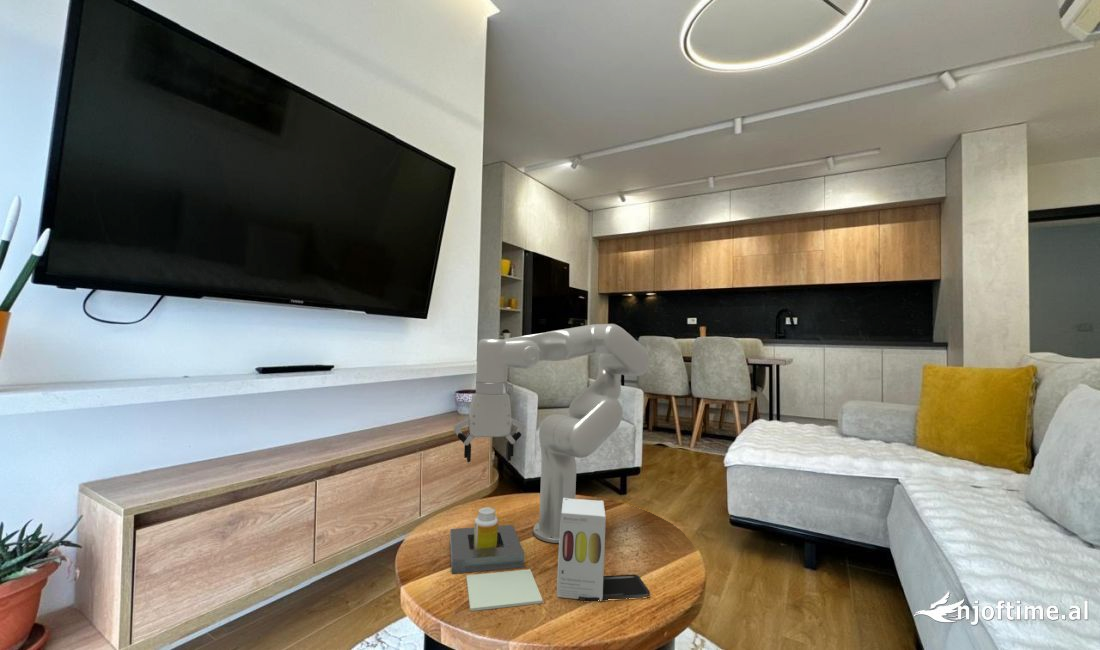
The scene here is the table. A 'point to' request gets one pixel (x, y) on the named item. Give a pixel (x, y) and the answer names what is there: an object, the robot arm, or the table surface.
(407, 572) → the table surface
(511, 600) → the sage mat
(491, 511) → the supplement bottle
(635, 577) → the phone
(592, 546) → the supplement box
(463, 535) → the socket block
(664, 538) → the table surface
